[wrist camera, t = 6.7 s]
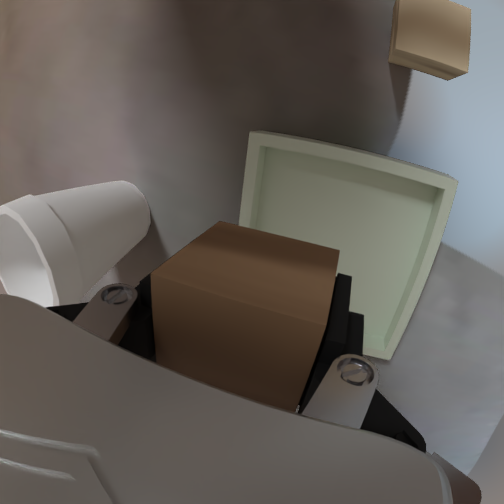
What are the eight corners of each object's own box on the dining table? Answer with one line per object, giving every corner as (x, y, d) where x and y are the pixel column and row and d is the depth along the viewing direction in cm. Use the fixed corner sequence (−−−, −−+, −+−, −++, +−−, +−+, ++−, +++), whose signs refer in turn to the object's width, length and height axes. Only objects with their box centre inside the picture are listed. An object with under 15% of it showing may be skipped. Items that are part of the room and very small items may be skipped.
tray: (260, 130, 22) (249, 131, 20) (447, 174, 19) (458, 181, 17) (239, 302, 29) (228, 318, 26) (388, 340, 25) (389, 360, 23)
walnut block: (219, 221, 12) (150, 273, 8) (340, 250, 11) (326, 325, 7) (211, 317, 14) (159, 386, 10) (311, 347, 13) (286, 432, 9)
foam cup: (182, 214, 27) (73, 284, 16) (137, 274, 31) (48, 346, 20) (114, 144, 26) (-5, 177, 15) (81, 211, 31) (-15, 259, 19)
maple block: (393, 8, 15) (400, -15, 11) (452, 26, 14) (470, 9, 10) (387, 62, 17) (395, 48, 13) (447, 80, 16) (467, 72, 12)
